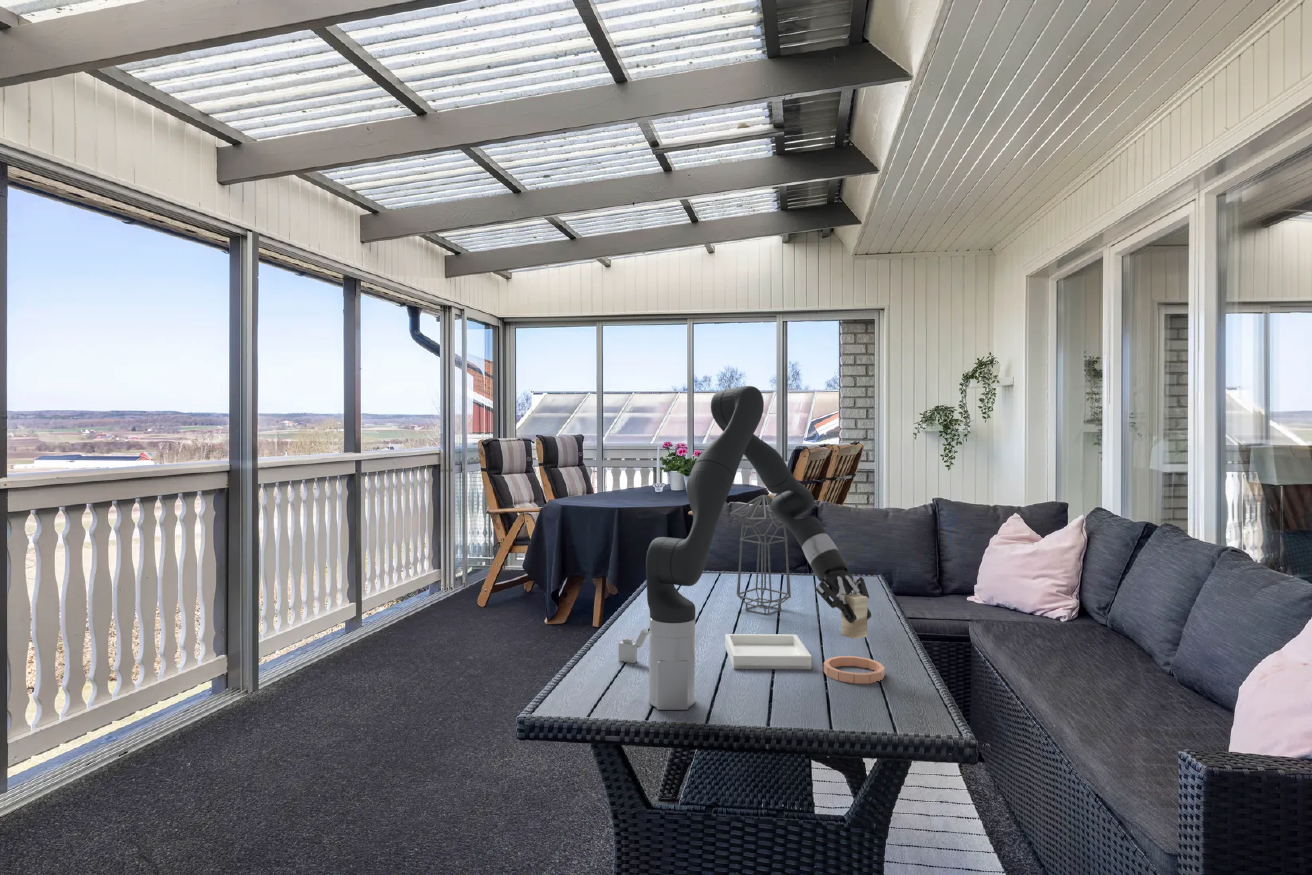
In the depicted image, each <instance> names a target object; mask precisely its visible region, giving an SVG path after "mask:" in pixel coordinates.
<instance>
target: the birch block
mask: <svg viewBox="0 0 1312 875" xmlns="http://www.w3.org/2000/svg"><path fill="white" fill-rule="evenodd" d="M845 598H846V600H847V604H849V605H850V607H851V609H852V611H853V612H854V614H855V615H856V617H857V619H856V620H855V621H854V622H853V623H849V622H848V621H847V620H846V618H845V617H844V615H843V613H842V612H841V616H840V617H841V618H840V619H841V621H840V622H841V624H840V625H841V628H840V631H841V632H840V635H841V636H844V637H846V638H850V639H853V640H857V639H861V638H862V639H863V638H867V637H868V620H867V610H868V609H869V607H868V604H869V602H868V601H869V598H868V597H866V596H862V595H858V594H852V593H850V594H848V595H845Z"/></svg>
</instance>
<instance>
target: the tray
mask: <svg viewBox="0 0 1312 875" xmlns="http://www.w3.org/2000/svg"><path fill="white" fill-rule="evenodd" d="M724 647H725V650H726V652H727V656H728V659H729V661H730V663H731V666H732V669H733V670H812V664H813V663H812V660H813V659H812V655H811V653H810V652H809V650H808V649H807V648H806V646H805V644H803V642H802V640H800V637H798V635H797V634H787V633H786V634H781V633H780V634H779V633H777V634H775V633H774V634H772V633H771V634H769V633H767V634H765V633H763V634H762V633H761V634H760V633H759V634H758V633H755V634H754V633H753V634H751V633H749V634H747V633H745V634H744V633H743V634H742V633H741V634H740V633H729V634H728V633H725V636H724Z"/></svg>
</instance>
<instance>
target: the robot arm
mask: <svg viewBox="0 0 1312 875" xmlns="http://www.w3.org/2000/svg"><path fill="white" fill-rule="evenodd" d="M764 403H765V402H764V397H763V394H762V392H761V391H760V390H759V388H757V387H756V386H753V385H743V386H742V385H741V386H738V387H733V388H726V389H722V390H719V391H717V392H716V393H714V395H713V396H712V398H711V401H710V412H711V415H712V417H713V419H714V421H715V423H716V424H717V425H718V427H719V428H720V429H721V431H722V432H721V434H720V435H719V436H717V438H715V439H714V440H713V441H712V442H711V443H710V444H709V445H708V446H706V448H705V449H704V450H703V451H702V452H701V453H700V454H699V456H698V457H697V458H696V460H695V462H694V464H693V467H692V469H691V471H690V473H689V476H688V479H687V481H686V482H687V483H686V494H687V495H686V496H687V499H688V503H689V506H690V509H691V512H692V519H693V520H692V525H691V528H690V531H689V533H688V535H687V537H686V538H676V537H667V536H661V537H660V536H658V537H656V538H654V539H653V540H651V543H650V544H649V546H648V549H647V551H646V557H645V559H646V560H645V577H646V600H647V605H648V609H649V646H648V647H649V648H648V650H649V653H648V655H649V656H648V659H649V660H648V661H649V662H648V665H649V667H648V702H649V704H650V705H651V706H652V707H655V708H656V710H661V711H662V710H663V711H664V710H665V711H667V710H668V711H669V710H671V711H673V710H674V711H677V710H679V711H681V710H683V711H687V710H689V708H690V707H692V706H693V705H694V704H695V685H696V684H695V681H696V680H695V673H696V670H695V669H696V668H695V666H696V665H695V663H696V605H695V603H694V602H693V601H691V600H690V599H688V598H687V597H685V596H684V595H682V594H681V593H680V592H679V591H678V589H677V588H676V587H675V585H676V586H681V587H692V586H694V585H696V584H697V583H698V582H699V580H700V579H701V577H702V575H703V573H704V570H705V567H706V564H707V560H708V556H709V553H710V551H711V550H710V549H711V546H712V542H713V538H714V535H715V530H716V528H717V524H718V521H719V518H720V516H721V515H722V514H721V513H722V511H723V508H724V505H725V503H726V501H727V499H728V496H729V494H730V491H731V489H732V486H733V485H734V480H735V479H736V478H735V477H736V475H737V472H738V469H739V466H740V464H741V461H742V459H743V456H744V457H745V458H746V459H747V460H748V462H749V463H750V464H751V465H752V467H753V468H754V470H755V471H756V472H757V475H758V476H759V478H760V479H761V482H762V483H763V485H764V487H765V488H766V489H767V491H768V492H769V493H770V494H771V493H772V494H778V495H777V496H775V497H774V498H772V499H773V500H772V502H771V507H770V510H772V512H773V516H774V517H775V516H776V517H777V518H778V519H779V521H781V522H782V523H783V524H784V525H785V528H788V530H789V531H790V532H791V533H792V535H793V536H794V538H795V540H796V541H797V543H798V545H799V546H800V548H801V550H802V551H803V553H804V554H803V555H804V556H805V558H806V560H807V562H808V564H809V566H810V568H811V569H812V571H813V573H814V575H815V576H816V578H817V580H818V581H819V582H820V583H819V584H818V585H817V586H816V587H815V589H814V590H815V592H817V593H818V594H819V596H820V597H821V598H822V599H823V600H824V602H826V603H827V604H828V606H829V607H830V608H831V609H835V608H836V609H838V610H840V612H841V614H842V613H843V615H844V617H845V618H846V620H847V621H848V622H849V623H853V622H854V621H855V620H856V619H857V617H856V615H855V614H854V612H853V611H852V609H851V607H850V605H849V604H847V600H846V598H845V595H848V594H858V595H862V596H866V597H868V599H869V598H870V595H869V592H868V589H867V585H866V582H865V579H864V578H863V577H862V576H860V577H858V578H855V577H853V575H851V573H850V572H848V564H847V562H846V561H845V558H844V557H843V555H842V554H841V552H840V550H839V549H838V547H837V545H836V544H835V543H834V541H833V539H831V537H830V536H829V534H828V533H827V531H826V530H825V527H824V525H822V523H821V521H820V520H819V519H818V518H817V517H815V516H807V517H804V518H800V519H799V517H801V516H802V515H804V514H806V513H807V512H809V511H811V510H812V509H813V507H814V506H815V498H814V496H813V493H812V492H811V490H809V489H808V488H807V487H806V486H805V485H804V484H803V483H801V482H800V481H799V480H798V479H797V478H796V477H795V476H794V475H793V474H792V472H791V470H790V469H789V467H788V465H787V464H786V462H785V460H784V458H783V457H782V456H781V454H780V453H779V452H778V451H777V450H776V449H775V448H774V447H773V446H771V445H770V444H768V443H766V441H764V440H762V439H761V438H760V437H758V436H757V435H756V434H755V432H756V430H757V428H758V426H759V424H760V422H761V419H762V418H763V414H764V406H765V404H764ZM772 512H771V513H772ZM797 518H798V519H797ZM782 523H781V524H782ZM783 524H782V525H783ZM871 618H872V613H871V611H870V609H869V608H868V610H867V621H868V620H870V619H871Z"/></svg>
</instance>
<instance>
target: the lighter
mask: <svg viewBox="0 0 1312 875" xmlns="http://www.w3.org/2000/svg"><path fill="white" fill-rule="evenodd" d="M649 634H650V630H648V629H646V628H642V629H641V631H640V633H639V635H638V637H637V639H636V641H635V642H634V641H633V638H628V637H625V638H623V639H622V640H621V641H620V642H618V662H622V661H624V662H623V663H631V664H635V663H636V661H637V662H638V648H639V649H640V648H641V647H642V646H643V644H644V643H645V641H646V639H647V636H648V635H649Z"/></svg>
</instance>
